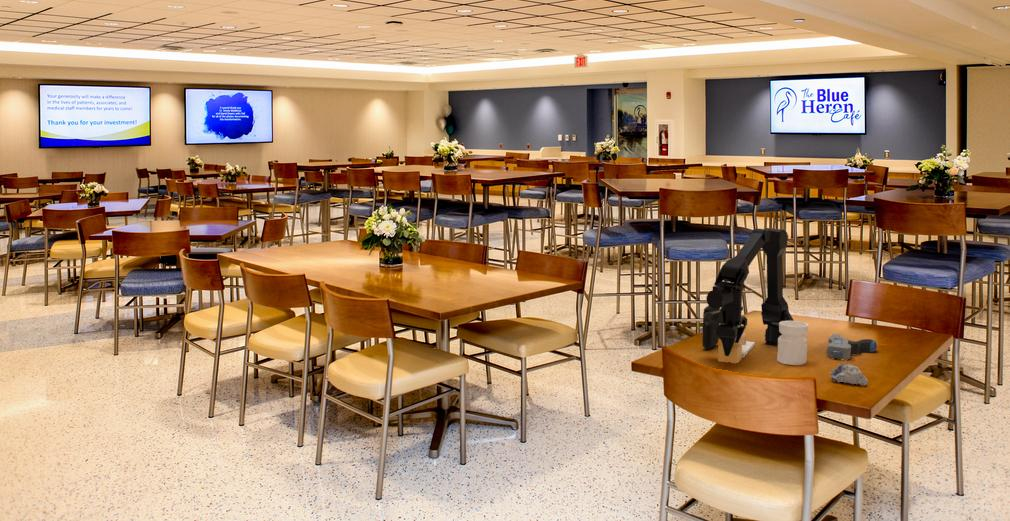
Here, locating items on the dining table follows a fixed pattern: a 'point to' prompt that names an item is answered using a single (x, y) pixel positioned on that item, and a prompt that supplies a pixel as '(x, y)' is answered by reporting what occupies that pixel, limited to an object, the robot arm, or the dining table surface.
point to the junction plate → (745, 345)
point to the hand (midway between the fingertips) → (730, 352)
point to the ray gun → (848, 347)
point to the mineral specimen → (848, 374)
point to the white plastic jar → (792, 342)
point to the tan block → (734, 354)
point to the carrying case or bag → (709, 331)
